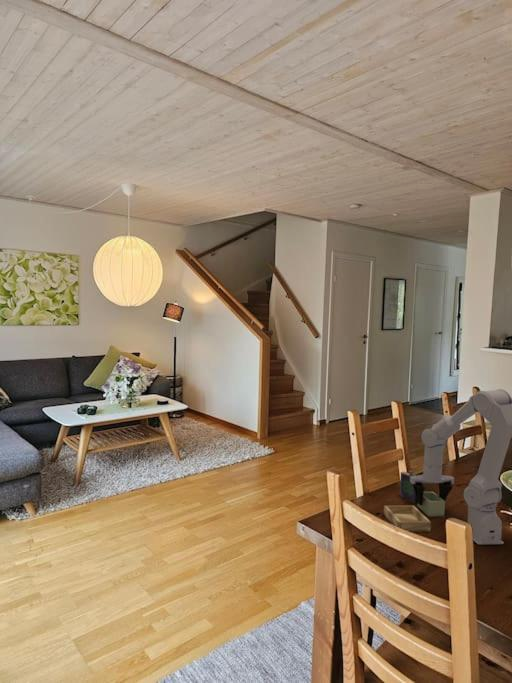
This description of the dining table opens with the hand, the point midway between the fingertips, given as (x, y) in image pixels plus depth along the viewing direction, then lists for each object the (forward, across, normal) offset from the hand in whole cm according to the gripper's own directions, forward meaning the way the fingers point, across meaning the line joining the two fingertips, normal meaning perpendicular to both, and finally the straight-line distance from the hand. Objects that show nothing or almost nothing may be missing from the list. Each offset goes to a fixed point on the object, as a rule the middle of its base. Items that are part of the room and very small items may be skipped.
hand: (430, 504), depth 152 cm
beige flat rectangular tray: (+2, +12, +8) cm, 15 cm away
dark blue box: (+3, +3, -9) cm, 10 cm away
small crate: (+2, 0, 0) cm, 2 cm away
